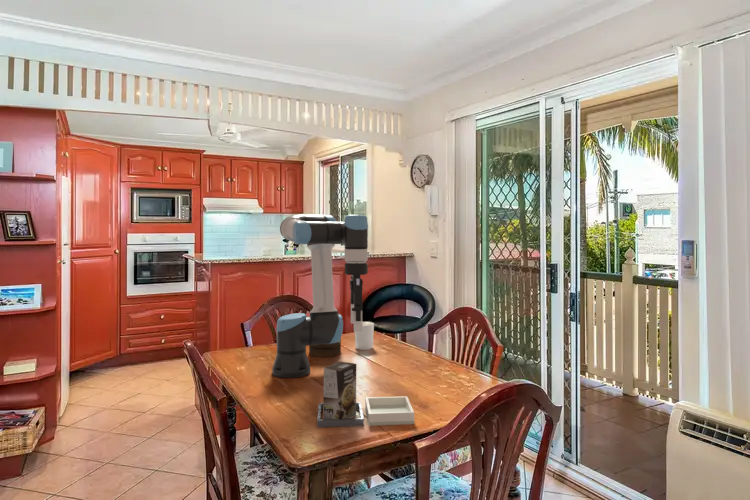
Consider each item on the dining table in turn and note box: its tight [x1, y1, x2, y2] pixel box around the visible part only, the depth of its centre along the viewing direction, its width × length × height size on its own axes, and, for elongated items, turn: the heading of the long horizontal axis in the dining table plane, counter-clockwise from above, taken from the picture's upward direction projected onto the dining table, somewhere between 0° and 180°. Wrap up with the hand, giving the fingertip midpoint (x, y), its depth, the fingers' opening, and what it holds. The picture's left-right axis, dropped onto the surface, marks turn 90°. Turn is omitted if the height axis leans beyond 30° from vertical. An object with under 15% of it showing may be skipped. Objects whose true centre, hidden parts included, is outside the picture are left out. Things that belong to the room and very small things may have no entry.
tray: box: [364, 395, 415, 427], centre depth 143 cm, size 14×14×4 cm
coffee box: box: [322, 360, 358, 419], centre depth 141 cm, size 9×6×16 cm
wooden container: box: [308, 312, 342, 358], centre depth 217 cm, size 15×15×22 cm
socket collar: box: [316, 401, 365, 428], centre depth 141 cm, size 14×14×2 cm
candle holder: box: [354, 321, 375, 351], centre depth 227 cm, size 10×10×12 cm
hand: (356, 327), depth 151 cm, fingers open, 13 cm apart
